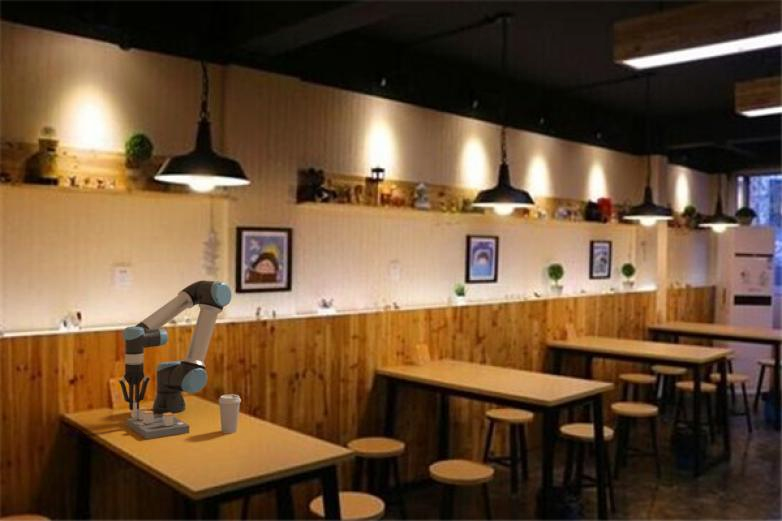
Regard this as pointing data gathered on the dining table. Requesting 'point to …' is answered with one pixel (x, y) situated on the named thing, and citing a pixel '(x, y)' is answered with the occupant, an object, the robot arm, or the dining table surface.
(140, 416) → the slider
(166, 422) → the slider
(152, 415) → the slider mid
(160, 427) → the switch unit
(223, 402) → the coffee cup
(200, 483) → the dining table surface
